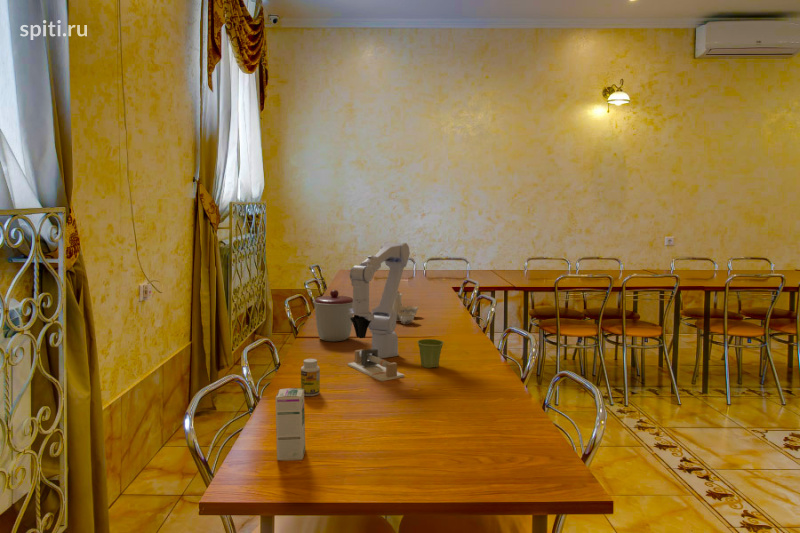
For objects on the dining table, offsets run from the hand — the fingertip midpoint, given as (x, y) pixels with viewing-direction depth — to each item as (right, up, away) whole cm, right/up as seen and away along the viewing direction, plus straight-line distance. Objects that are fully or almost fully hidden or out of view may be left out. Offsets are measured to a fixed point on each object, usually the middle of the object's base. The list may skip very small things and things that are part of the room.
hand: (360, 337), depth 199 cm
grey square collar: (+3, -9, -4) cm, 10 cm away
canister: (-14, -6, +40) cm, 43 cm away
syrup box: (-10, -17, -73) cm, 76 cm away
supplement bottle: (-13, -13, -31) cm, 36 cm away
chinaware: (+15, -2, +83) cm, 84 cm away
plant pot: (+25, -10, 0) cm, 27 cm away
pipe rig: (+5, -11, -7) cm, 14 cm away
